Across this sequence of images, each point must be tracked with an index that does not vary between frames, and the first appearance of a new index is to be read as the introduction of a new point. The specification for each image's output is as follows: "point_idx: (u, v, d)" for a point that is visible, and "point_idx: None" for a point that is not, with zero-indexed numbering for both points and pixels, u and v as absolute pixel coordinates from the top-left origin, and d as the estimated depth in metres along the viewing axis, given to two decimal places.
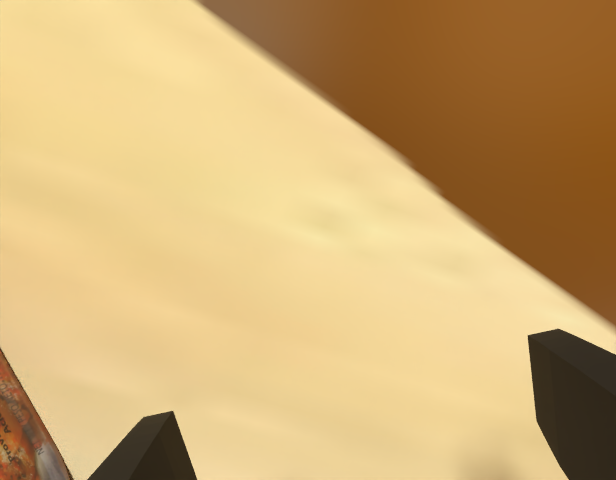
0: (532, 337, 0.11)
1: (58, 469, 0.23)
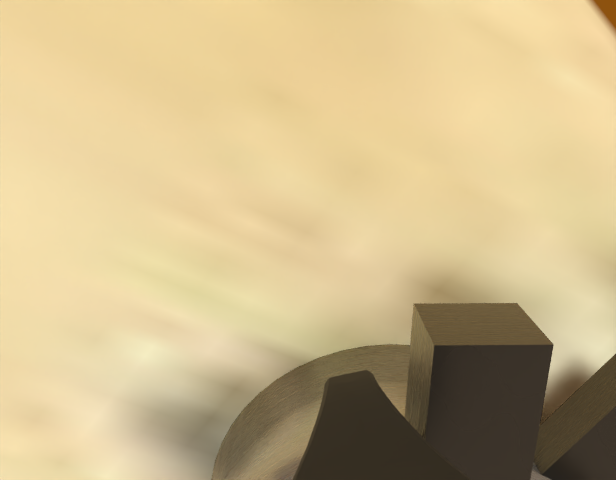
0: (336, 378, 0.11)
1: None
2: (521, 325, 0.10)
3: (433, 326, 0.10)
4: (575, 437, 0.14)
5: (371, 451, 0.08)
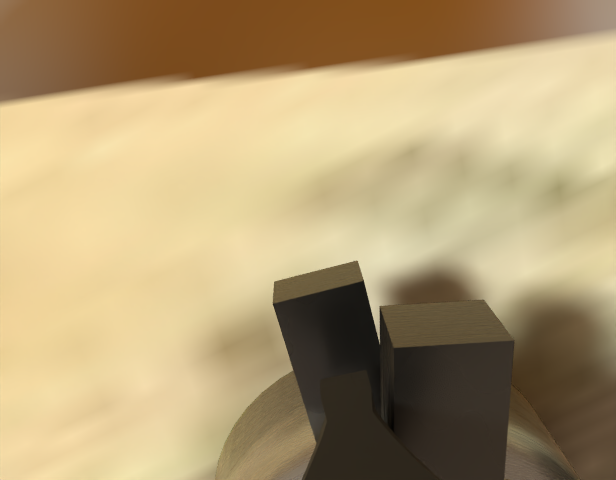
0: (320, 382, 0.11)
1: None
2: (484, 322, 0.10)
3: (396, 328, 0.10)
4: None
5: (349, 456, 0.08)
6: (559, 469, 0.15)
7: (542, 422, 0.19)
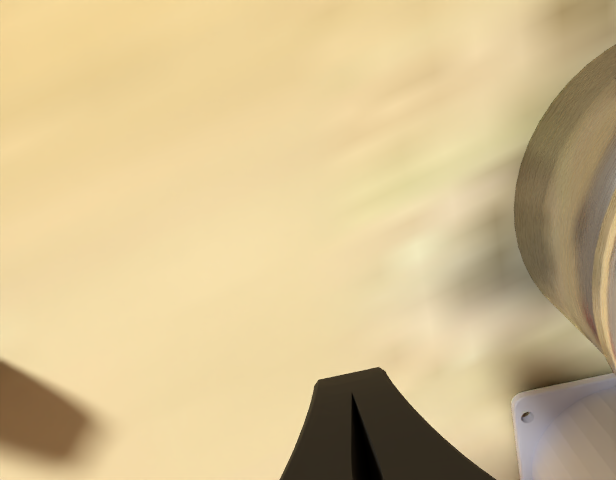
0: (349, 375, 0.11)
1: None
2: None
3: None
4: None
5: (388, 448, 0.08)
6: None
7: None
